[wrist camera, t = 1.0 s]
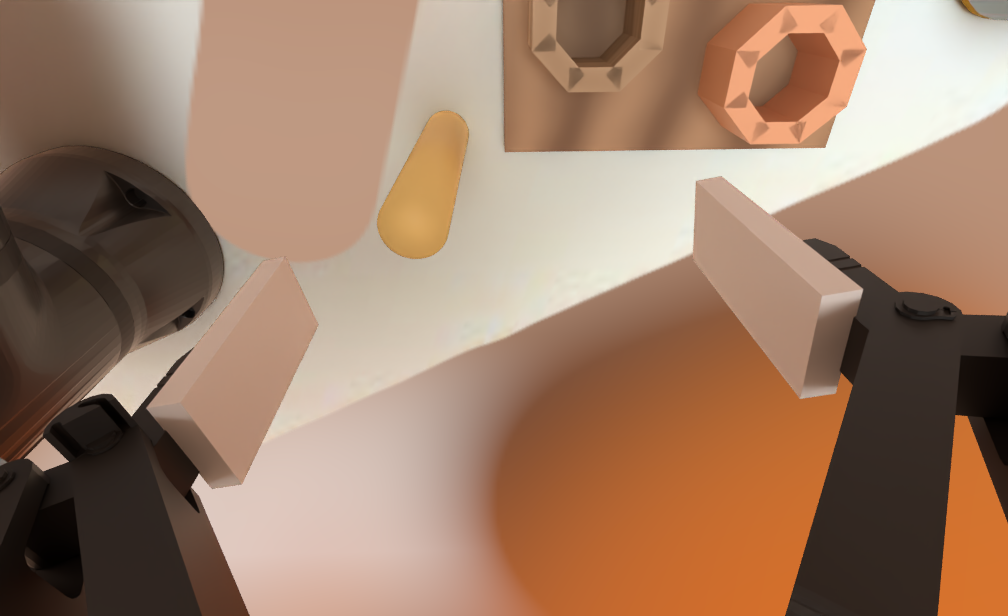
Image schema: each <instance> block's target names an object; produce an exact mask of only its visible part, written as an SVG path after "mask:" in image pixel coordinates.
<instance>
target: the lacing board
mask: <svg viewBox="0 0 1008 616" xmlns="http://www.w3.org/2000/svg"><path fill="white" fill-rule="evenodd" d="M750 3H811V4H832V5H843V7H844V9H845V10H846V12H847V14H848V16H849V18H850V20H851V21H852V23H853V25H854V27H855V29H856V31H857V32H858V34H859V36H860V38H861V40H862V38H863V35H864V32H865V29H866V26H867V23H868V20H869V17H870V15H871V12H872V9H873V6H874V3H875V0H670V3H669V9H668V16H667V23H666V30H665V37H664V44H663V50H662V51H661V52H660V53H659V54H658V55H657V56H656V57H655V58H654V59H653V60H652V61H651V62H650V63H649V64H648V65H647V66H646V67H645V68H644V69H643V70H642V71H641V72H639V73H638V74H637V75H636V76H635V77H634V78H633V79H632V80H631V81H630V82H629V83H628V84H627V85H626V86H625V87H624V88H623V89H622V90H621V91H620V92H567V91H566V89H565V88H564V87H563V86H562V85H561V84H560V83H559V82H558V80H557V79H556V78H555V77H554V76H553V75H552V74H551V72H550V71H549V70H548V69H547V68H546V67H545V66H544V65H543V63H542V62H541V61H540V60H539V59H538V58H537V57H536V55H535V54H534V53H533V52H532V50H531V48H530V47H529V45H528V14H529V0H503V40H504V135H505V152H546V151H620V150H693V149H767V148H825V147H826V144H827V141H828V138H829V135H830V132H831V129H832V126H833V123H834V120H835V117H836V115H835V116H834V117H833V118H831V119H830V120H829V121H828V122H826V123H825V124H824V125H823V126H821V127H820V128H819V129H817V130H816V131H815V132H814V133H812V134H811V135H810V136H809V137H807V138H806V139H805V140H803V141H802V142H801V143H800V144H749V143H747V142H746V141H744V140H743V139H741V138H739V137H738V136H736V135H735V134H733V133H731V132H730V131H728V130H727V129H725V128H723V127H722V126H721V125H720V124H719V122H718V121H717V120H716V118H715V117H714V116H713V114H712V113H711V112H710V110H709V109H708V108H707V106H706V105H705V104H704V102H703V101H702V100H701V98H700V97H699V96H698V94H697V93H698V88H699V83H700V77H701V72H702V67H703V61H704V56H705V51H706V46H707V43H708V42H709V41H710V40H711V39H712V38H713V37H714V36H715V35H716V34H717V33H718V32H719V31H720V30H721V29H723V28H724V27H725V26H726V25H727V24H728V23H729V22H730V21H731V20H732V19H733V18H734V17H735V16H736V15H737V14H738V13H739V12H741V11H742V10H743V9H744V8H745V7H746V6H747V5H748V4H750ZM625 7H626V0H558V1H557V26H556V41H557V42H558V44H559V45H560V46H561V47H562V48H563V49H564V51H565V52H566V53H567V54H568V55H569V56H570V58H590V57H600V56H601V55H602V54H603V53H604V52H605V51H606V50H607V49H608V48H609V47H610V46H611V45H612V44H613V42H614V41H615V40H616V39H617V38H618V37H619V36H620V35H621V34H622V33H623V26H624V17H625ZM797 52H798V51H797V49H796V48H795V46H794V44H793V43H792V41H791V40H790V38H789V36H788V35H786V36H785V37H784V38H783V39H782V40H781V41H780V42H779V43H777V44H776V45H775V46H774V47H773V48H772V49H771V50H770V51H768V52H767V53H766V54H765V55H764V56H763V57H762V58H761V59H759V60H758V61H757V64H756V68H755V73H754V77H753V81H752V85H751V89H750V93H749V97H748V98H749V100H750V101H751V103H752V104H753V106H763V105H764V104H766V103H767V102H768V101H769V100H770V99H771V98H773V97H774V96H775V95H776V94H777V93H779V92H780V91H781V90H782V89H783V88H785V87H786V86H787V85H788V84H789V81H790V77H791V74H792V70H793V67H794V63H795V60H796V56H797Z"/></svg>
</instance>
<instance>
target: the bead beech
mask: <svg viewBox="0 0 1008 616" xmlns="http://www.w3.org/2000/svg"><path fill="white" fill-rule="evenodd" d="M557 1H558V0H529V14H528V45H529V47H530V48H531V50H532V52H533V53H534V54H535V55H536V57H537V58H538V59H539V60H540V61H541V62H542V63H543V65H544V66H545V67H546V68H547V69H548V70H549V71H550V72H551V74H552V75H553V76H554V77H555V78H556V79H557V80H558V82H559V83H560V84H561V85H562V86H563V87H564V88H565V89H566V91H567V92H620V91H621V90H622V89H623V88H624V87H625V86H626V85H627V84H628V83H629V82H630V81H631V80H632V79H633V78H634V77H635V76H636V75H637V74H638V73H639V72H641V71H642V70H643V69H644V68H645V67H646V66H647V65H648V64H649V63H650V62H651V61H652V60H653V59H654V58H655V57H656V56H657V55H658V54H659V53H660V52H661V51H662V50H663V44H664V37H665V30H666V23H667V16H668V9H669V3H670V0H626V7H625V17H624V26H623V33H622V34H621V35H620V36H619V37H618V38H617V39H616V40H615V41H614V42H613V44H612V45H611V46H610V47H609V48H608V49H607V50H606V51H605V52H604V53H603V54H602V55H601V56H600V57H590V58H570V56H569V55H568V54H567V53H566V52H565V51H564V49H563V48H562V47H561V46H560V45H559V44H558V42H557V41H556V26H557Z"/></svg>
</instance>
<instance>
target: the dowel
mask: <svg viewBox="0 0 1008 616" xmlns="http://www.w3.org/2000/svg"><path fill="white" fill-rule="evenodd" d="M468 136H469V133H468V127H467V125H466V123H465V121H464V120H463V119H462V117H461V116H459V115H458V114H456V113H454V112H451V111H440V112H437V113H435V114H434V115H433V116H432V117H431V118H430V119H429V120H428V122H427V124H426V126H425V128H424V130H423V131H422V133H421V135H420V137H419V139H418V141H417V143H416V144H415V146H414V148H413V150H412V152H411V154H410V156H409V157H408V159H407V161H406V163H405V165H404V167H403V169H402V170H401V172H400V174H399V176H398V178H397V180H396V182H395V183H394V185H393V187H392V189H391V191H390V193H389V195H388V196H387V198H386V200H385V202H384V204H383V206H382V207H381V209H380V211H379V214H378V219H377V227H378V232H379V234H380V237H381V239H382V240H383V242H384V243H385V244H386V246H387V247H388V248H390V249H391V250H392V251H393V252H395V253H396V254H398V255H401V256H403V257H406V258H411V259H422V258H426V257H429V256H432V255H434V254H435V253H437V252H438V251H439V250H440V249H441V248H442V247H443V245H444V244H445V242H446V240H447V237H448V233H449V228H450V223H451V218H452V214H453V209H454V204H455V199H456V195H457V190H458V185H459V180H460V175H461V171H462V166H463V161H464V156H465V151H466V147H467V142H468Z"/></svg>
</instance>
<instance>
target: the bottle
mask: <svg viewBox="0 0 1008 616" xmlns="http://www.w3.org/2000/svg"><path fill="white" fill-rule="evenodd" d="M961 1H962V3H963V4H964V5H965V6H966V8H967V9H968V10H969V11H970V12H971V13H973V14H975V15H977V16H980V17H982V18H987V19H994V20H1008V0H961Z"/></svg>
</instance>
